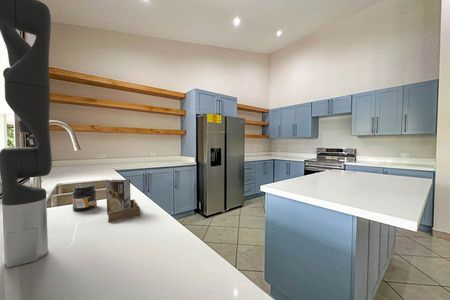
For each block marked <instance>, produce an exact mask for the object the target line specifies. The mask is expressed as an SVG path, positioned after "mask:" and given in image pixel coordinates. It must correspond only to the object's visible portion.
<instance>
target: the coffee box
mask: <svg viewBox="0 0 450 300" xmlns="http://www.w3.org/2000/svg"><path fill="white" fill-rule="evenodd" d="M105 185H106V186H105V187H106V188H105V189H106V190H105V191H106V192H105V193H106V215H108V213H109V212H115V211H120V210H126V209H132V207H131V200H132V199H131V179H110V180H108V181H106V182H105Z"/></svg>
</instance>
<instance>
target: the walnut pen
mask: <svg viewBox="0 0 450 300" xmlns="http://www.w3.org/2000/svg"><path fill="white" fill-rule="evenodd" d="M140 209H141V208H140V206H139V204H138V202H137V201H136V199H131V209H126V210H120V211H115V212H109V213H108V216H107V220H108V221H107V222H108V223H112V222H116V221H121V220H126V219H132V218H137V217H140V216H141V210H140Z"/></svg>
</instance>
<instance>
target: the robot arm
mask: <svg viewBox="0 0 450 300" xmlns="http://www.w3.org/2000/svg"><path fill="white" fill-rule="evenodd" d="M51 19H52V17H51V10H50V7H48V5H47V4H46V3H44V2H43V1H39V0H0V34H1V37H2V39H3V42H4V44H5V48H6V50H7V58H8V65H9V67H8V66H7V67H5V68H4V69H3V70H2V71H3V72H2V75H3V78H4V100H5V101H6V103H7V105H8V106H9V108H10V109H11V110H12V111H13V113H14V114H15V115H16V116H17V122H18V128H19V133H20V134H24V135H27V137H26V140H25V142H26V144H27V146H25V147H24V146H19V147H18V146H17V147H15V146H14V147H4V148H2V149H1V150H0V182H1V183H0V184H1V207H2V214H1V215H2V240H3V242H2V243H3V256H4V257H3V259H4V260H3V262H4V263H3V264H4V265H5V266H6V269H7V268H8V269H9V268H12V267H16V266H20V265H21V266H22V265H26V264H28V263H33V262H37V261H39V259H40V258H42V257H44V256H45V255H47V253H48V251H49V243H48V240H49V237H48V236H49V235H48V209H47V206H48V204H47V190H46V189H45V188H42V187H37V186H29V185H25V184H22V183H20V182H19V181H18V180H19V179H20V180H21V179H30V178H39V177H45V176H46V177H47V176H48V175H50V174H51V170H52V166H53V164H52V163H53V162H52V161H53V160H52V158H53V157H52V146H51V145H52V144H51V136H50V135H51V134H50V133H51V132H50V111H51V110H50V105H51V104H50V103H51V102H50V101H51V90H50V88H51V85H50V82H51V81H50V66H49V65H50V46H51V45H50V43H51V42H50V41H51V30H52V29H51V26H52V20H51ZM18 31H19V32H23V33H26V34H30V35H33V36H35V39H34V42H33V43H32V45H30V43H28V41H26V39H24V38H23V36H22V35H21V34H20V33H19V32H18Z"/></svg>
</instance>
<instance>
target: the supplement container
mask: <svg viewBox="0 0 450 300" xmlns="http://www.w3.org/2000/svg"><path fill="white" fill-rule="evenodd" d="M72 190H73V192H72V193H71V195H72V210H73V211H75V212H83V211H84V212H85V211H89V210H90V211H91V210H92V209H95V208H96V207H97V205H98V201H97V200H98V199H97V192H98V191H97V190H96V184H94V183H86V184H79V185H75V186H73V187H72Z"/></svg>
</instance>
